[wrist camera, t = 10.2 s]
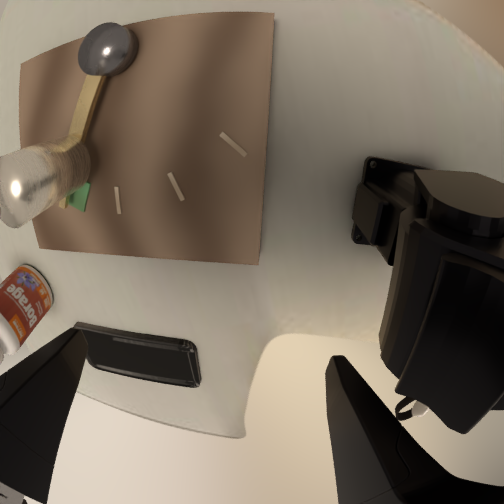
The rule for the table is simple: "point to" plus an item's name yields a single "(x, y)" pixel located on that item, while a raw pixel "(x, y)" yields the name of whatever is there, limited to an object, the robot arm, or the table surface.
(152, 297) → the table surface
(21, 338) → the pill bottle
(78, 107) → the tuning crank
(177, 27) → the wooden serving board
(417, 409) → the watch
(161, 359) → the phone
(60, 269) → the table surface
